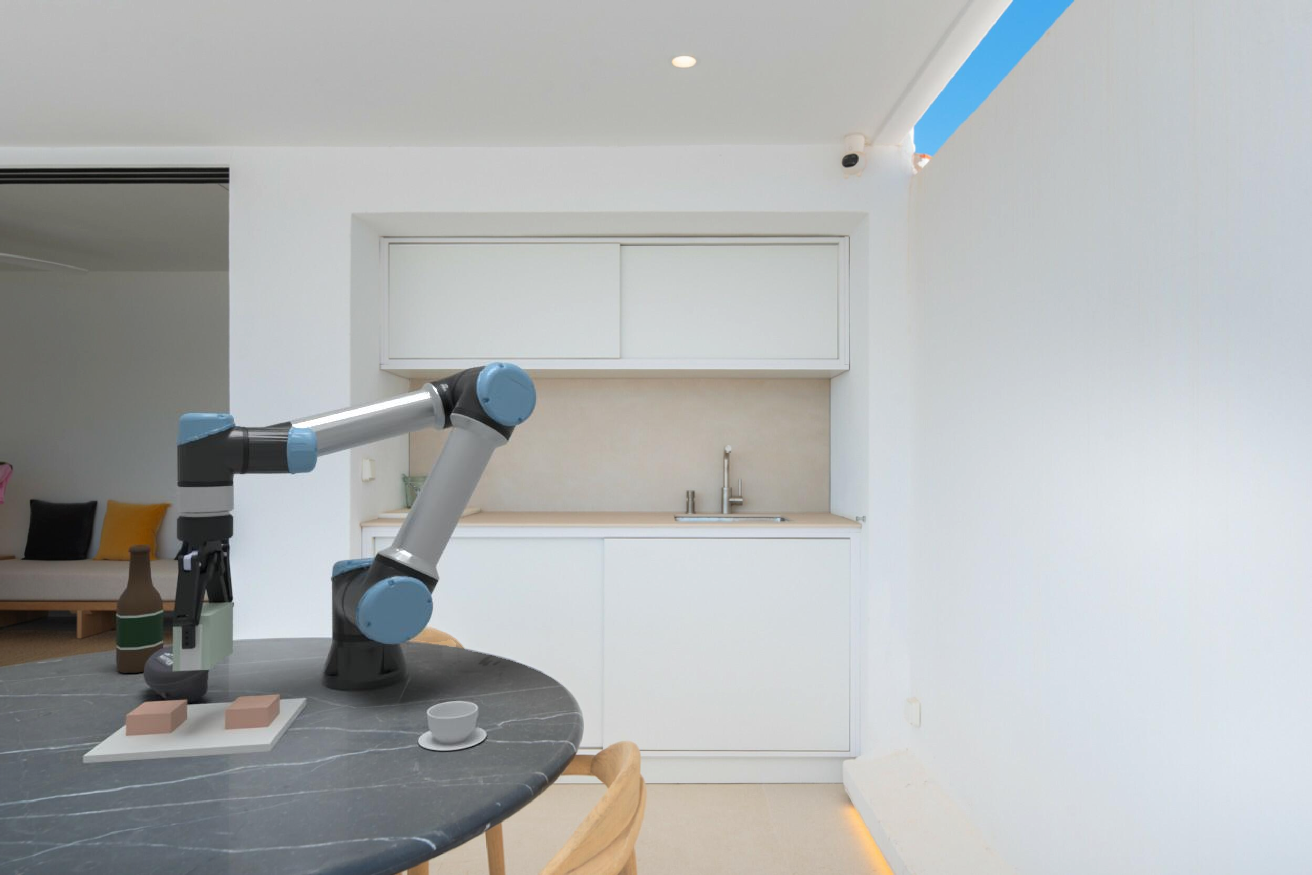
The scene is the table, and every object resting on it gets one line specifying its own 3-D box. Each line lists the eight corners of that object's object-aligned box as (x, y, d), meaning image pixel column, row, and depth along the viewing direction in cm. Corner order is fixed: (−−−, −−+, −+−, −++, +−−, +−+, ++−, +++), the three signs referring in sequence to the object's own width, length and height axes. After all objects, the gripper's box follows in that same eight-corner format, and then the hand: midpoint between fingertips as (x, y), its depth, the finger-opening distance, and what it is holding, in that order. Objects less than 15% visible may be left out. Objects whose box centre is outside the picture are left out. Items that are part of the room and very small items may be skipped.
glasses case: (132, 692, 139) (132, 648, 139) (198, 678, 146) (198, 637, 146) (163, 716, 126) (163, 668, 126) (233, 700, 134) (233, 655, 134)
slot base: (306, 705, 132) (306, 680, 132) (269, 751, 112) (269, 722, 112) (149, 714, 127) (149, 688, 127) (83, 764, 108) (82, 734, 108)
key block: (198, 653, 124) (199, 603, 124) (232, 652, 125) (233, 602, 125) (172, 671, 114) (173, 616, 114) (209, 669, 115) (210, 615, 115)
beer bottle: (172, 663, 156) (172, 543, 156) (135, 675, 148) (135, 549, 148) (144, 660, 158) (144, 542, 158) (106, 671, 151) (106, 547, 151)
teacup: (451, 759, 110) (451, 725, 110) (403, 744, 115) (403, 712, 115) (500, 735, 118) (500, 705, 118) (453, 723, 124) (453, 693, 124)
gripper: (207, 507, 130) (206, 642, 130) (144, 521, 108) (143, 683, 108) (255, 507, 131) (254, 640, 131) (203, 520, 109) (202, 680, 109)
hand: (204, 659), depth 120 cm, fingers closed on key block, 9 cm apart
